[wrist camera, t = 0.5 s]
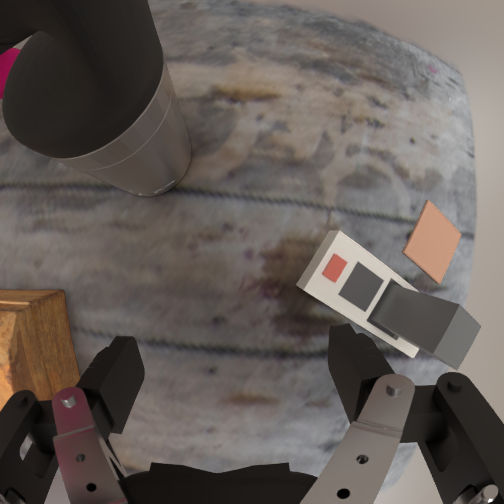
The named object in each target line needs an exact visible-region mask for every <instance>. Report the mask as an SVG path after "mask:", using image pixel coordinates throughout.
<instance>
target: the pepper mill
mask: <svg viewBox="0 0 504 504" xmlns="http://www.w3.org/2000/svg"><path fill="white" fill-rule="evenodd" d="M20 51H21V50H19V49H16V48H10V49H9V50H7V51H6V52H4V53H3V54H1V55H0V99H2V98H3V92H4V87H5V83H6V80H7V77H8V74H9V71H10V69H11V67H12V65H13V63H14V61H15V59H16V57H17V56H18V54H19V52H20Z"/></svg>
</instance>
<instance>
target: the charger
mask: <svg viewBox="0 0 504 504" xmlns="http://www.w3.org/2000/svg"><path fill="white" fill-rule="evenodd" d="M368 318H370V319H372V320H373V321H375V322H376V323H378V324H379V325H381V326H382V327H384V328H385V329H387V330H388V331H390V332H391V333H393V334H395V335H396V336H398V337H400V338H402V339H403V340H405V341H407V342H409V343H410V344H412V345H414V346H415V347H417V348H419V349H421V350H422V351H424V352H426V353H428V354H429V355H431V356H433V357H435V358H436V359H438V360H440V361H441V362H443V363H445V364H447V365H448V366H450V367H452V368H454V369H456V370H458V368H459V367H460V364H461V363H462V361H463V360H464V358H465V356H466V354H467V353H468V351H469V349H470V347H471V345H472V343H473V342H474V339H475V338H476V336H477V334H478V332H479V329H480V328H481V326H480V324H479V323H478V322H477V321H476V320H475V319H474V318H473V317H472V316H471V315H470V314H469V313H468V312H467V311H466V310H465V309H464V308H463V307H462V306H461V305H459V304H456V303H453V302H450V301H446V300H443V299H440V298H437V297H433V296H430V295H427V294H423V293H420V292H417V291H414V290H410V289H407V288H404V287H400V286H397V285H394V284H390V283H388V285H387V287H386V288H385V290H384V292H383V294H382V295H381V297H380V299H379V300H378V302H377V304H376V305H375V307H374V309H373V310H372V312H371V314H370V315H369V317H368Z"/></svg>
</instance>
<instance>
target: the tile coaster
mask: <svg viewBox="0 0 504 504" xmlns="http://www.w3.org/2000/svg"><path fill="white" fill-rule="evenodd" d="M460 237H461V233H460V232H459V231H458V230H457V229H456V228H455V227H454V226H453V225H452V224H451V222H450V221H449V220H448V219H447V218H446V217H445V216H444V215H443V214H442V213H441V212H440V211H439V210H438V209H437V208H436V207H435V206H434V205H433V204H432V203H431V202H430V201H429V200H426V203H425V205H424V207H423V209H422V212H421V214H420V216H419V218H418V220H417V223H416V225H415V227H414V229H413V231H412V233H411V235H410V237H409V239H408V241H407V243H406V245H405V247H404V249H403V251H402V253H403V254H405V255H406V256H407V257H408V258H409V259H410V260H412V261H413V262H414V263H415V264H416V265H417V266H418V267H420V268H421V269H422V270H423V271H424V272H425V273H426V274H427V275H429V276H430V277H431V278H432V279H433V280H434V281H435V282H436V283H437V284H440V283H441V280H442V278H443V276H444V274H445V272H446V270H447V268H448V266H449V263H450V261H451V259H452V256H453V254H454V252H455V249H456V247H457V245H458V242H459V240H460Z"/></svg>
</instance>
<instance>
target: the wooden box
mask: <svg viewBox="0 0 504 504" xmlns="http://www.w3.org/2000/svg"><path fill="white" fill-rule="evenodd" d="M79 380H80V375H79V371H78V367H77V362H76V358H75V353H74V348H73V344H72V338H71V333H70V327H69V321H68V315H67V309H66V302H65V293H64V290H0V411H1V409H2V408H3V407H4V405H5V404H6V402H7V401H8V400H9V398H10V397H11V396H12V395H13V394H15V393H16V392H18V391H21V390H30V391H32V392H33V393H34V394H35V396H36V397H37V399H38V401H44V400H52V399H53V397H54V395H55V394H56V393H57V392H58V391H60V390H62V389H64V388H67V387H75V386H76V384H77V383H78V381H79Z"/></svg>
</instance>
